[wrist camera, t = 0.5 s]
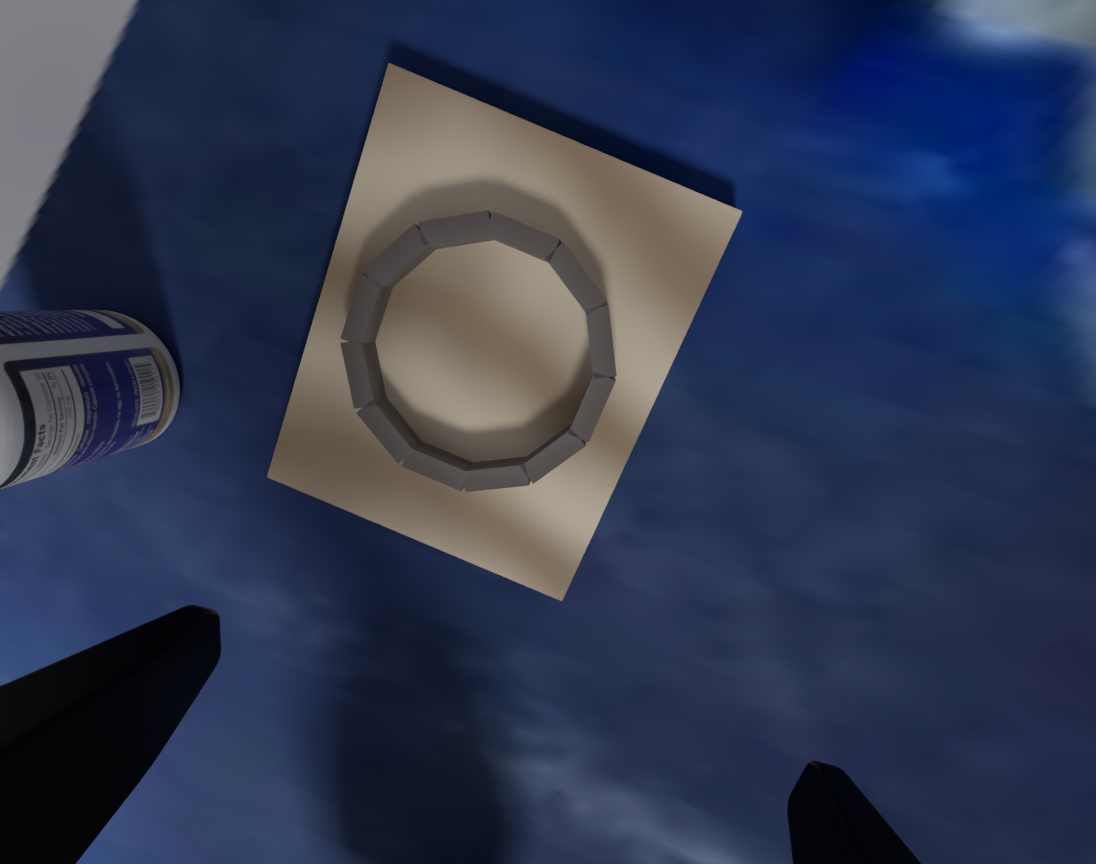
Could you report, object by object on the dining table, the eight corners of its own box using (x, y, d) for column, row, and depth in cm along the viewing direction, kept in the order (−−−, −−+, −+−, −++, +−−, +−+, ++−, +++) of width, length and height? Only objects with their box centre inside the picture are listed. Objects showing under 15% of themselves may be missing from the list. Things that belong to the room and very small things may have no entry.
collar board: (563, 589, 24) (559, 617, 22) (280, 470, 24) (248, 486, 22) (735, 216, 20) (751, 205, 18) (399, 74, 20) (374, 46, 18)
